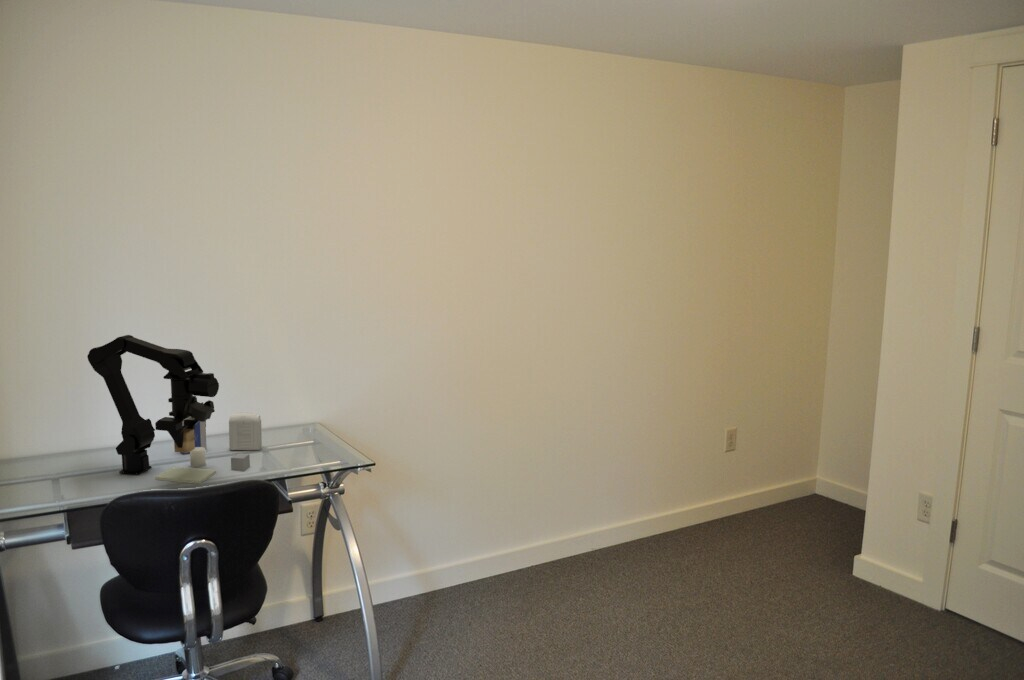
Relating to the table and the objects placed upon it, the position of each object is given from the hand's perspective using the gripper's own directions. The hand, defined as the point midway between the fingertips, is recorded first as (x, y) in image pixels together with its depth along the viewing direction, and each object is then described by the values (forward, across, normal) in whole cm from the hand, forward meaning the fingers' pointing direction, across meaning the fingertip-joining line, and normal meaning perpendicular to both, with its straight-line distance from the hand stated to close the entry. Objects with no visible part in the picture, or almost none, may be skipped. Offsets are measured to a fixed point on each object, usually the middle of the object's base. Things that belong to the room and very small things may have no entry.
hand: (184, 445), depth 222 cm
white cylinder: (+10, +10, +2) cm, 14 cm away
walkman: (+10, +21, +10) cm, 25 cm away
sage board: (+10, 0, 0) cm, 10 cm away
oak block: (+2, 0, 0) cm, 2 cm away
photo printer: (+10, +27, -5) cm, 29 cm away
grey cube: (+10, +10, -12) cm, 18 cm away
